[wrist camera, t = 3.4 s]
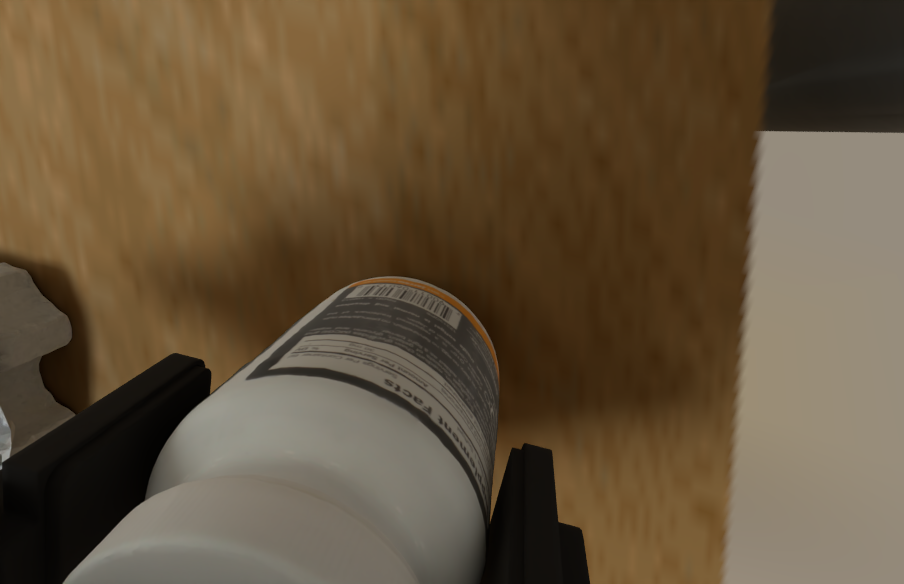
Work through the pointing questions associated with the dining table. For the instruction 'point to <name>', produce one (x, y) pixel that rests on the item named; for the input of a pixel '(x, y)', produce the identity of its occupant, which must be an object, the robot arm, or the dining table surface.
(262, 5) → the dining table surface
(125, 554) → the pill bottle
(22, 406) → the egg carton
